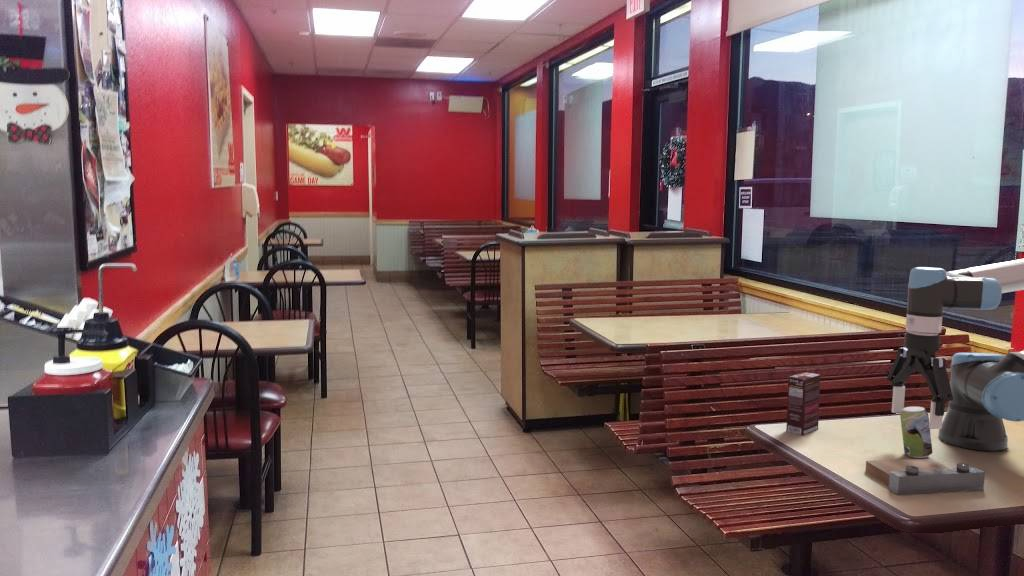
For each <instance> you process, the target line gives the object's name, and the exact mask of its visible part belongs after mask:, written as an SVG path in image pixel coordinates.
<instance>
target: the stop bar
mask: <svg viewBox="0 0 1024 576" xmlns="http://www.w3.org/2000/svg"><path fill="white" fill-rule="evenodd" d="M985 474H986V472H985V471H984V470H981V469H979V468H977V467H975V466H970V465H969V464H967V463H963V462H959V463H958V462H957V463H956V467H954V468H953V467H952V468H951V467H949V469H930V470H919V468H917V467H915V466H906V471H893V472H890V479H889V486H888V491H890V492H891V493H893V494H895V495H897V496H905V495H906V496H908V495H909V496H910V495H923V494H939V493H940V494H941V493H943V494H944V493H956V492H959V493H960V492H973V491H984V489H985V488H984V487H985V476H986V475H985Z"/></svg>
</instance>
